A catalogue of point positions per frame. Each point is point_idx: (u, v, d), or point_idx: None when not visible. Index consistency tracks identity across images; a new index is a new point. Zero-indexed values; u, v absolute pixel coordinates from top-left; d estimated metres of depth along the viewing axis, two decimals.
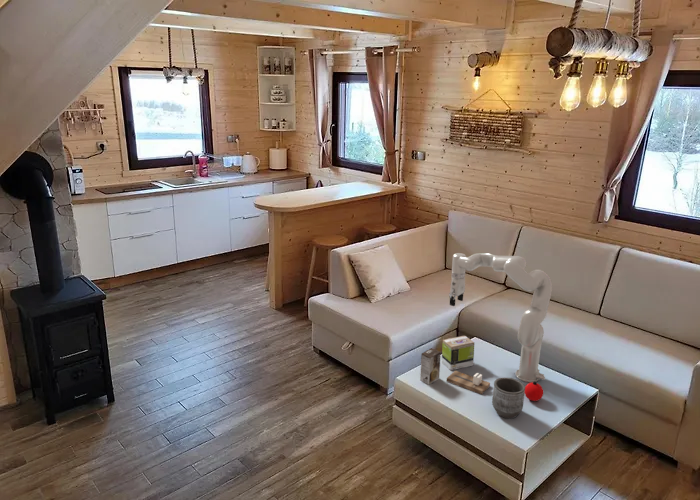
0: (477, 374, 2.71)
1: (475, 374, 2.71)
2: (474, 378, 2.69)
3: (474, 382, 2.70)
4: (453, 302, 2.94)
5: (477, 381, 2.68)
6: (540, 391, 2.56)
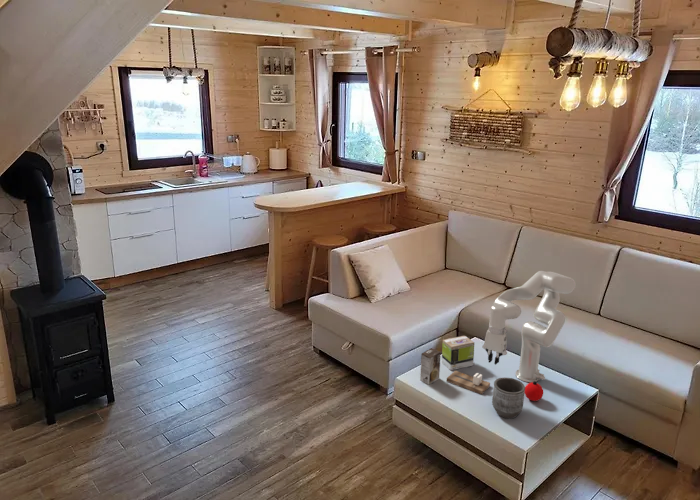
0: (477, 374, 2.71)
1: (475, 374, 2.71)
2: (474, 378, 2.69)
3: (474, 382, 2.70)
4: None
5: (477, 381, 2.68)
6: (540, 391, 2.56)
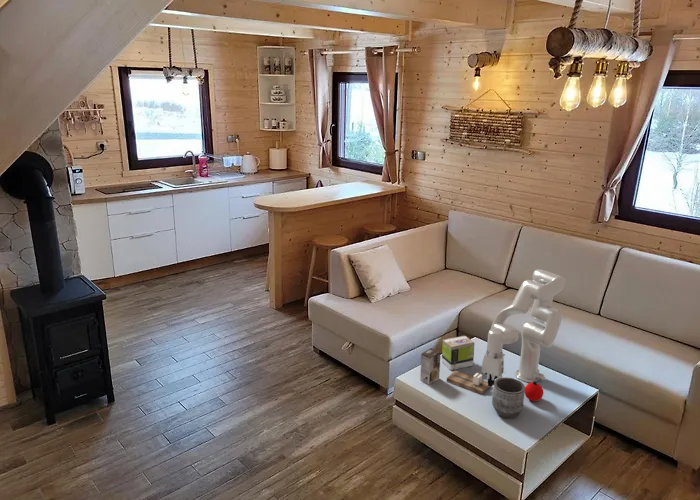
0: (477, 374, 2.71)
1: (475, 374, 2.71)
2: (474, 378, 2.69)
3: (474, 382, 2.70)
4: None
5: (477, 381, 2.68)
6: (540, 391, 2.56)
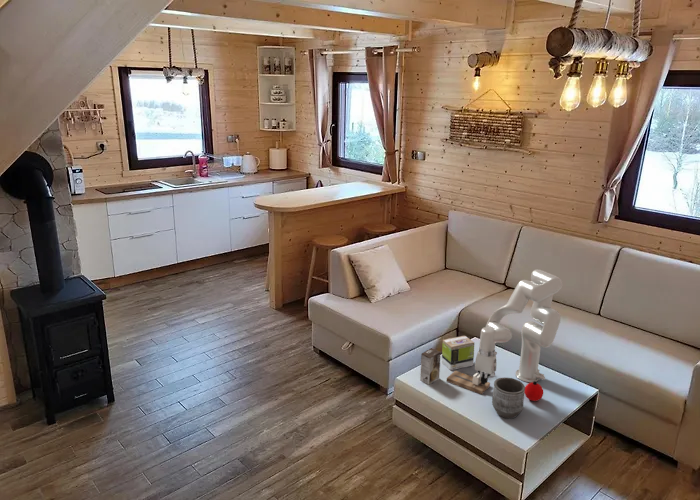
0: (477, 374, 2.71)
1: (475, 374, 2.71)
2: (474, 378, 2.69)
3: (474, 382, 2.70)
4: None
5: (477, 381, 2.69)
6: (540, 391, 2.56)
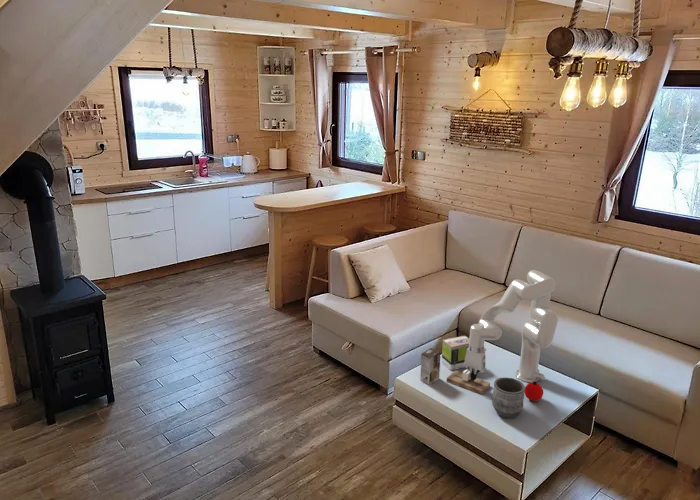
0: (466, 370, 2.74)
1: None
2: (463, 374, 2.73)
3: (463, 378, 2.73)
4: None
5: (466, 377, 2.72)
6: (540, 391, 2.56)
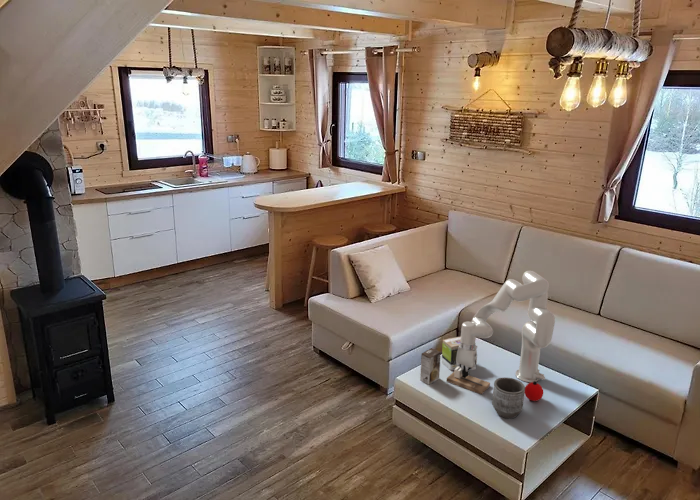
0: (458, 367, 2.77)
1: None
2: (455, 371, 2.76)
3: (455, 375, 2.76)
4: (467, 372, 2.74)
5: (458, 374, 2.75)
6: (540, 391, 2.56)
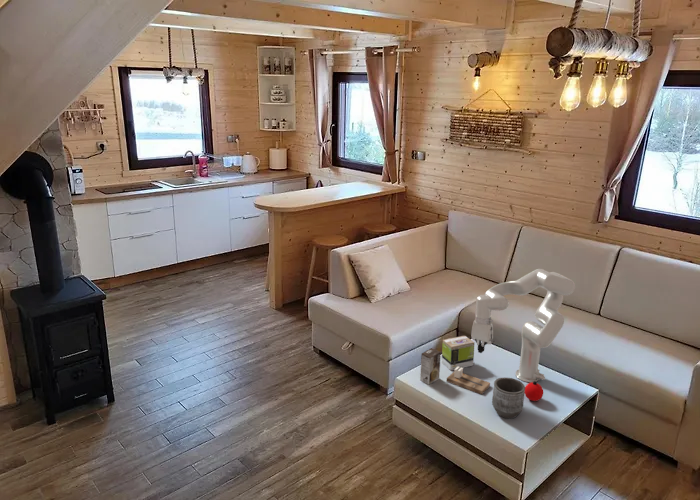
0: (458, 367, 2.77)
1: None
2: (455, 371, 2.76)
3: (455, 375, 2.76)
4: None
5: (458, 374, 2.75)
6: (540, 391, 2.56)
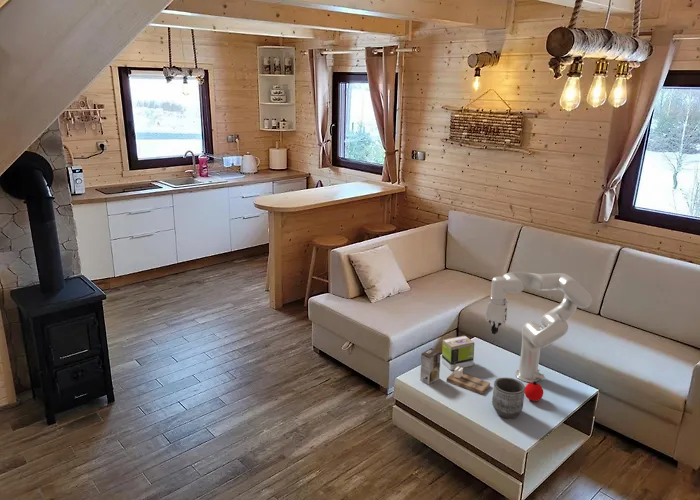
0: (458, 367, 2.77)
1: None
2: (455, 371, 2.76)
3: (455, 375, 2.76)
4: None
5: (458, 374, 2.75)
6: (540, 391, 2.56)
